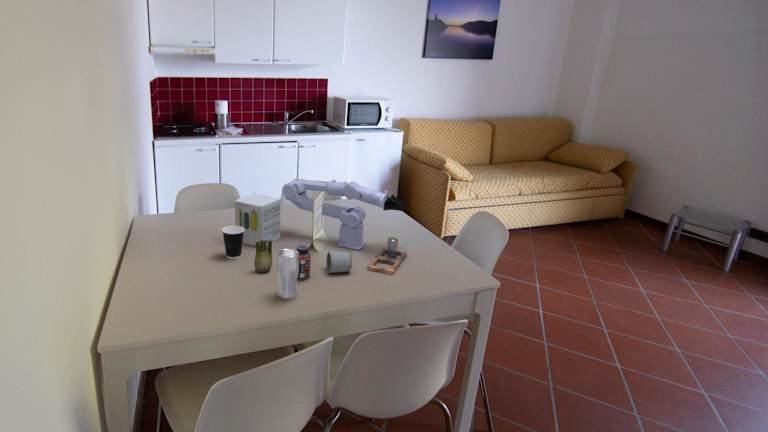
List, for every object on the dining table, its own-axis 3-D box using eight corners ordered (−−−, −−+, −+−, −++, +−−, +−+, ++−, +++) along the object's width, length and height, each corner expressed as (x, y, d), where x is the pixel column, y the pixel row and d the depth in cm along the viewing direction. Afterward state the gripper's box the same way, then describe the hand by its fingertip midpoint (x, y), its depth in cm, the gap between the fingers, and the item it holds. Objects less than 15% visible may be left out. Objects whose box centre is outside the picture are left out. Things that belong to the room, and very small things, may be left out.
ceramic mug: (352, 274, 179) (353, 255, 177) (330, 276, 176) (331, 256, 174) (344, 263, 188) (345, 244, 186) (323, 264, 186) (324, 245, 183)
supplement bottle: (306, 281, 171) (307, 251, 167) (290, 279, 172) (290, 249, 168) (312, 274, 176) (313, 245, 173) (296, 272, 177) (297, 242, 174)
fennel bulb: (272, 268, 178) (272, 237, 175) (270, 274, 174) (270, 243, 170) (256, 267, 178) (256, 236, 174) (253, 273, 174) (253, 242, 170)
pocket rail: (367, 269, 184) (367, 266, 183) (383, 251, 202) (383, 247, 202) (392, 275, 181) (393, 271, 181) (406, 255, 199) (407, 252, 199)
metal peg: (385, 258, 195) (386, 240, 192) (388, 255, 199) (389, 236, 196) (394, 260, 194) (396, 241, 191) (397, 257, 198) (399, 238, 195)
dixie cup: (243, 251, 190) (243, 225, 187) (245, 260, 183) (245, 232, 180) (222, 253, 188) (221, 226, 184) (223, 261, 181) (222, 233, 177)
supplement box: (234, 241, 200) (233, 200, 194) (254, 231, 211) (254, 192, 206) (262, 248, 195) (262, 206, 190) (280, 238, 207) (281, 198, 201)
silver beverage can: (278, 289, 164) (278, 247, 159) (299, 290, 165) (300, 248, 160) (275, 299, 157) (275, 256, 152) (297, 300, 158) (298, 257, 153)
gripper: (371, 188, 189) (404, 199, 187) (379, 186, 203) (410, 196, 201) (366, 206, 190) (399, 216, 188) (374, 203, 205) (405, 212, 202)
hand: (404, 207), depth 195 cm, fingers open, 7 cm apart
